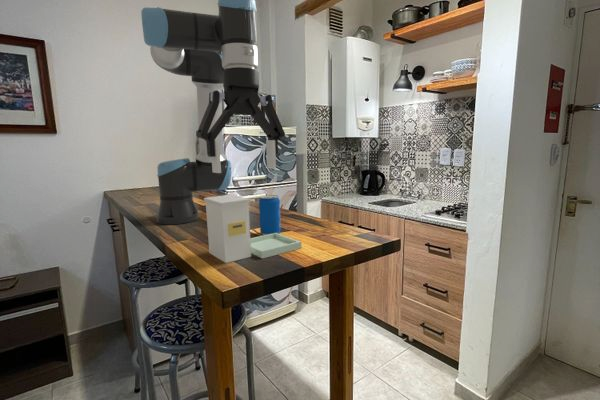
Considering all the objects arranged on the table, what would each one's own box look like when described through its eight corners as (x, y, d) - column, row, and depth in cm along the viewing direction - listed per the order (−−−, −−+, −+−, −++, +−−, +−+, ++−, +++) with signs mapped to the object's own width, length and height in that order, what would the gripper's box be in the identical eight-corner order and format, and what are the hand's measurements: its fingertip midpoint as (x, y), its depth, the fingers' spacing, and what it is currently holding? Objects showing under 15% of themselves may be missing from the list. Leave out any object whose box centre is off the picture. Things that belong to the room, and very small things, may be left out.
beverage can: (277, 236, 100) (276, 198, 98) (257, 236, 102) (255, 198, 100) (283, 231, 107) (281, 194, 105) (264, 230, 108) (262, 194, 106)
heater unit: (207, 252, 87) (203, 197, 84) (233, 246, 91) (230, 194, 89) (225, 263, 78) (221, 203, 76) (253, 256, 83) (250, 199, 80)
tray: (239, 247, 91) (238, 240, 91) (276, 238, 98) (275, 232, 98) (262, 258, 81) (261, 251, 81) (301, 248, 89) (301, 241, 88)
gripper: (187, 57, 59) (196, 175, 62) (298, 73, 73) (300, 167, 77) (174, 66, 64) (183, 173, 68) (279, 78, 79) (282, 166, 83)
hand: (245, 170), depth 73 cm, fingers open, 13 cm apart
